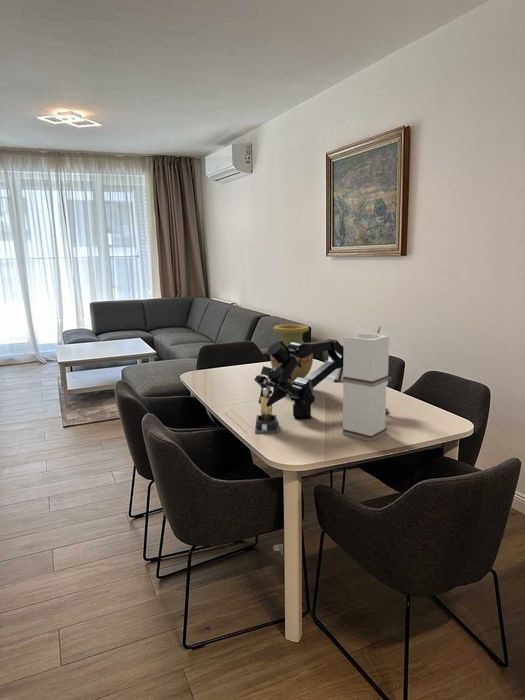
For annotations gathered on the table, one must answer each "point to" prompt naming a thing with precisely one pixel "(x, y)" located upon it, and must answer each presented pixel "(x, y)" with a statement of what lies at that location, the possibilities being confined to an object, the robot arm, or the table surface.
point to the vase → (287, 336)
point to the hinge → (335, 375)
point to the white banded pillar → (365, 386)
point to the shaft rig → (266, 425)
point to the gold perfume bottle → (265, 410)
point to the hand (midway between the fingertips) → (263, 404)
